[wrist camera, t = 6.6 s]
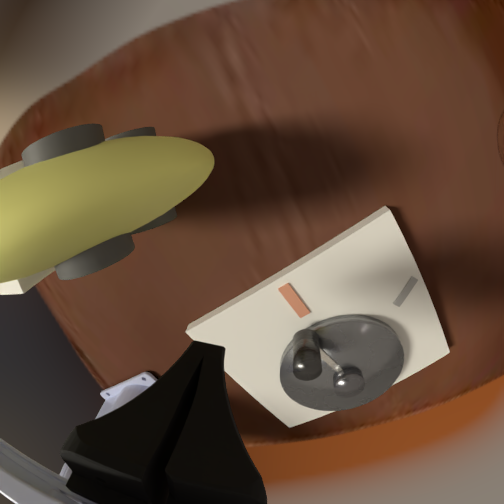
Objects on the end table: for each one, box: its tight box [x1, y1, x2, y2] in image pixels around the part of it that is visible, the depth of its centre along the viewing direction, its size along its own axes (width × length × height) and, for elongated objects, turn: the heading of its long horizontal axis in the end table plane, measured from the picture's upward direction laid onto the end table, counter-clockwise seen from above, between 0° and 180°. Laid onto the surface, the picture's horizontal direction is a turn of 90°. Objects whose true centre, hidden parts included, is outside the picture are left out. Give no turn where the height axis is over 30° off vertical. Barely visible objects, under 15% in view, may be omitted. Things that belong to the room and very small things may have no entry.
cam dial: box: [280, 315, 404, 411], centre depth 20 cm, size 11×10×4 cm
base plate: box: [186, 206, 450, 428], centre depth 22 cm, size 17×15×1 cm
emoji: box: [0, 124, 214, 295], centre depth 12 cm, size 5×15×15 cm
